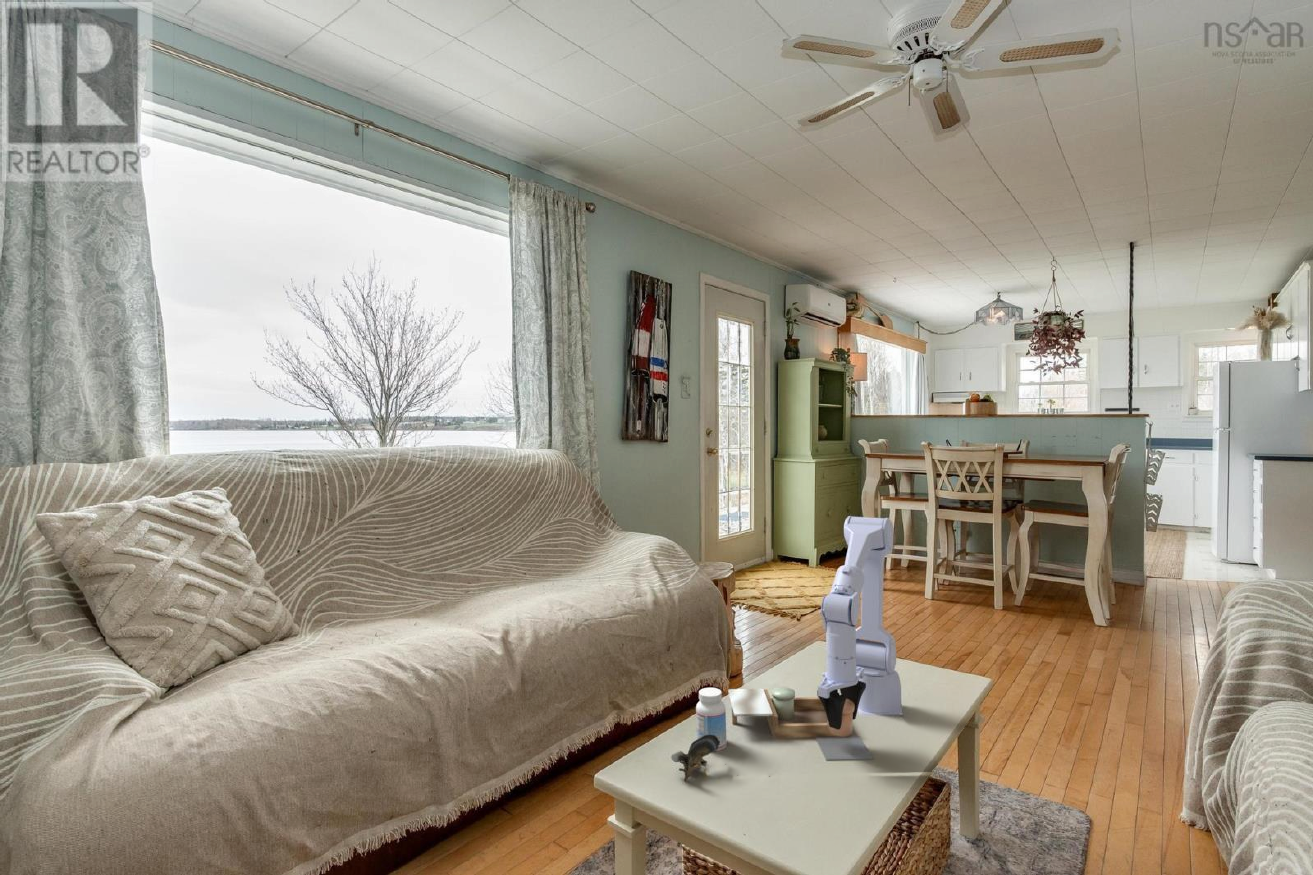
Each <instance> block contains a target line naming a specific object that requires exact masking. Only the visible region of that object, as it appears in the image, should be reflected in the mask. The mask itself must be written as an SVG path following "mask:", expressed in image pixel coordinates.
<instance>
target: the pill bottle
mask: <svg viewBox="0 0 1313 875" xmlns="http://www.w3.org/2000/svg"><path fill="white" fill-rule="evenodd" d="M722 699H723V694H722V690H721V689H719V688H716V687H704V688H701V689H700V690H699V691H698V700H699V701H698V702H697V703H696V706H695V715H696V716H695V717H696V719H695V722H696V740H697V739H699V738H701V737H703V736H704V735H715V736H716V737H717V738H718V740H719V741H720V743H719V746H718V749H717V750H716V751H717V752H718V751H721V750H723V749H725V748H726V746H727V716H726V714H727V712H726V705H725V703H724V702H723V701H722ZM716 751H715V752H716Z"/></svg>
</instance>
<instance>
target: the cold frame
mask: <svg viewBox="0 0 1313 875" xmlns="http://www.w3.org/2000/svg"><path fill="white" fill-rule="evenodd" d="M727 693H728V696H729V700H730V704H731V720H732V722H731V723H732V725H738V717H760V716H761V717H763V716H764V717H766V721H767V723H768V726H769V729H770V732H771V735H772V738H773V739H781V738H782V739H785V738H786V739H787V738H788V739H791V738H793V739H794V738H795V739H797V738H815V737H852V734H851V735H849V736H837V735H834V734H832V733H830V732H829V731H828V729H827V722H828V719H827V715H826V712H825V709H824V706H823V704H822V702H821V700H820V699H819V697H818V696H817V697H816V696H813V697H812V696H811V697H808V696H807V697H795V698H794V718H793V719H791V720H779V719H778V715H777V713H776V710H775V708H774V697H771V696H770V693H769V690H768V689H764V688H729V689H727Z"/></svg>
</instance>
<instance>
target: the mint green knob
mask: <svg viewBox="0 0 1313 875" xmlns="http://www.w3.org/2000/svg"><path fill="white" fill-rule="evenodd" d="M771 694H772V695H771V696H772V698H774V708H775V710H776V713H777V715H778V719H779V720H791V719H793V718H794V698H796V691H795V690H794V689H793V688H790V687H787V686H786V687H785V686H779V687H778V686H777V687H774V688H773V689H772V690H771Z"/></svg>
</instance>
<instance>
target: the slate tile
mask: <svg viewBox="0 0 1313 875" xmlns="http://www.w3.org/2000/svg"><path fill="white" fill-rule="evenodd" d="M814 738H815V741H816V743H817V745H818V746H819V749H820V751H821V752H822V755H823V757H824V759H825V761H828V762H829V761H873V760H874V758H873V756H872V755H871V753H870V752H869V749H868V748H867V747H866V745H865V744H864V742H863V741H862V739H861V737H860V736H858V735H857V736H851V737H814Z"/></svg>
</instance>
